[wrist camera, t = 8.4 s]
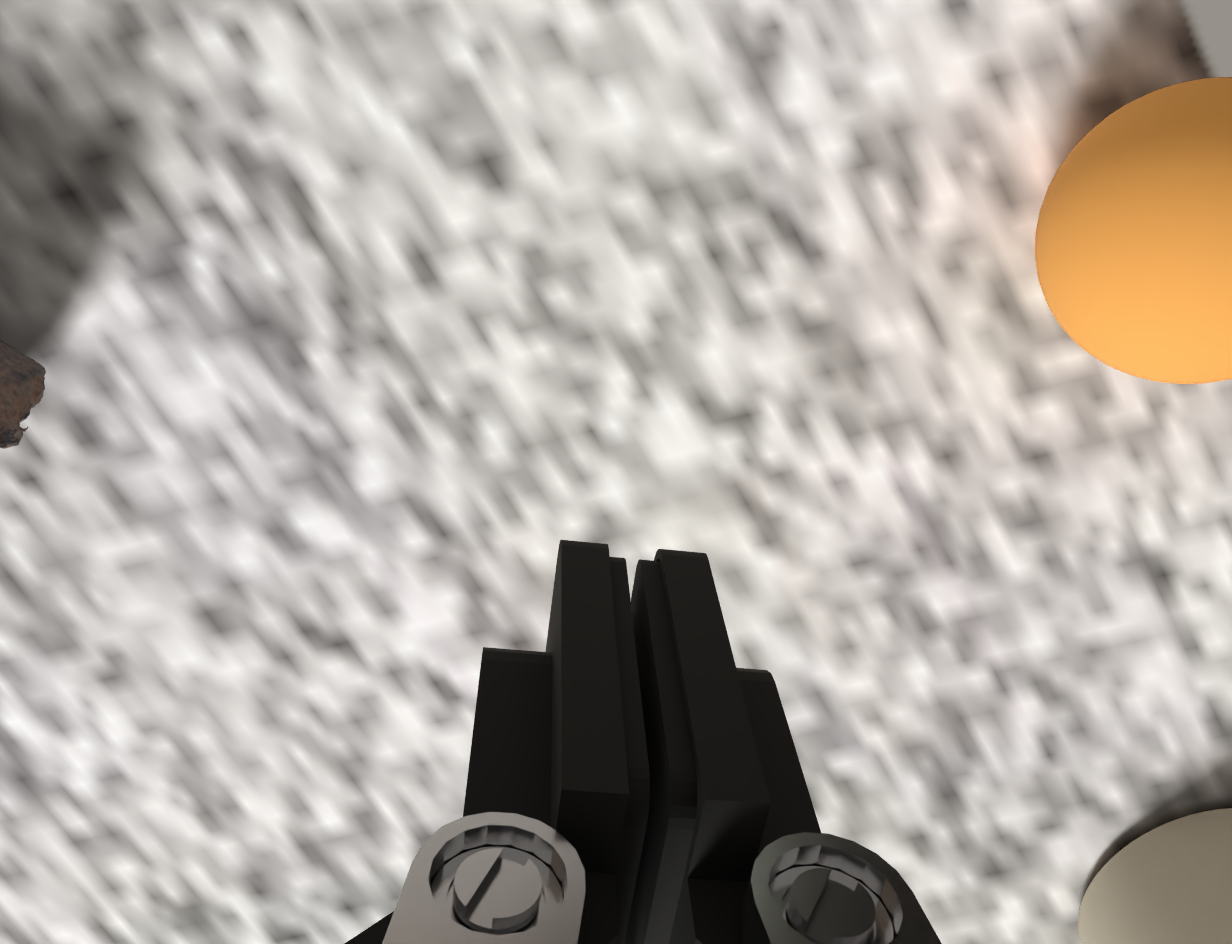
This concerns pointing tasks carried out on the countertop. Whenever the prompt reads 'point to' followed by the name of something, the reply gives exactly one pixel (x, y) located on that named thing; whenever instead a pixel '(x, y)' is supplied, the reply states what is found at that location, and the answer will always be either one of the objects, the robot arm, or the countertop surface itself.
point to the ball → (1147, 236)
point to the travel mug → (1165, 886)
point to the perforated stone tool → (17, 392)
